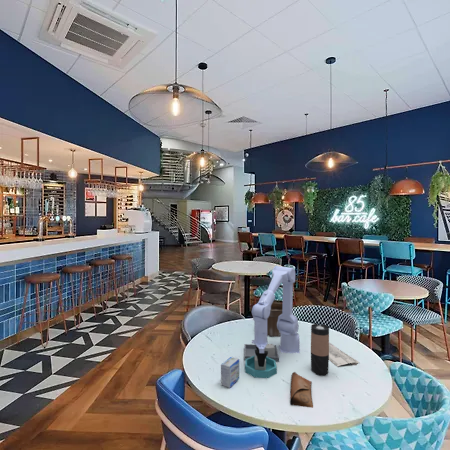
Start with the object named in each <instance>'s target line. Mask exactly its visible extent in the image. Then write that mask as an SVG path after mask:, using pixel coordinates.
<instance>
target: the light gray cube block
mask: <svg viewBox="0 0 450 450" xmlns="http://www.w3.org/2000/svg"><path fill="white" fill-rule="evenodd" d="M273 345H274V344H273V343H269V344H267V346H266V347H265V349H264V351H268V355H267V357H274V356H275V347H274V346H273Z"/></svg>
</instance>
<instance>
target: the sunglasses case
mask: <svg viewBox="0 0 450 450" xmlns="http://www.w3.org/2000/svg"><path fill="white" fill-rule="evenodd" d="M312 384H313V383H312V381H311V380H309V379H307V378H306V377H304V376H301V375H300V374H298V373H297V372H296V371H294V372H292V374H291V377H290V394H289V395H290V398H289V399H290V400H289V402H290V404H291V405H292V406H297V407H304V408H312V409H313V408H314V402H313V397H312Z"/></svg>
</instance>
